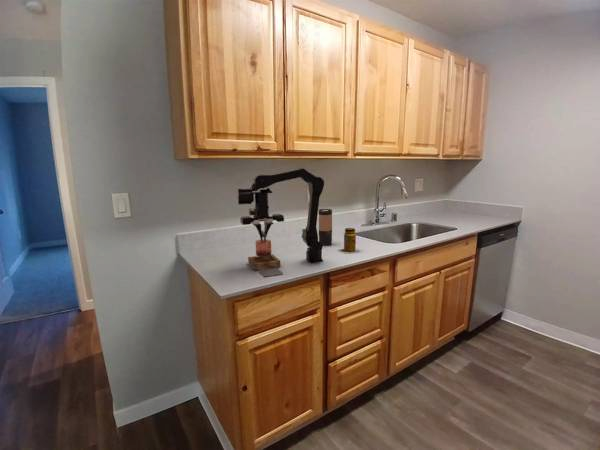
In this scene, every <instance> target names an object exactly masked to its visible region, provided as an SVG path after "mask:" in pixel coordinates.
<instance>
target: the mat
mask: <svg viewBox="0 0 600 450" xmlns="http://www.w3.org/2000/svg"><path fill="white" fill-rule="evenodd" d="M258 272H259V273H260V274H261V276H262V277H263V278H271V277H276V276H282V275H284V273H283V272H282V271H281V270H280V268H271V269H264V270H259V271H258Z"/></svg>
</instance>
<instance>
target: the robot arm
mask: <svg viewBox="0 0 600 450" xmlns="http://www.w3.org/2000/svg"><path fill="white" fill-rule="evenodd" d="M298 178H300V179H301V180H302V181H304V182H305V183H306V184H308V185H307V186H308V193H309V200H308V201H309V203H308V213H307V223H306V226H305V228H302V230H301V231H302V235H301V238H302V241H303V242H304V244H306V245H307V247H306V253H305V256H306V257H305V260H306V261H307V262H309V263H311V264H312V263H321V262H324V260H323V257H322V254H323V253H322V251H323V247H324V246H323V245H322V244H321V243H320V242H319V232H318V229H317V225H318V223H317V222H318V217H319V204H320V197H321V196H322V195H321V194H322V193H323V189H324V186H325V181H324V179H323V178H322V177H320V176H316V175H314V174H312V173H310V172H309V171H307V169H305V168H304V167H303V168H301V167H300V168H299V167H298V168H297V169H293V170H288V171H282V172H279V173H274V174H271V173H270V174H267V173H266V174H265V173H264V174H257V175H255V176H254V177H253V183H252V184H251V186H250V187H249V188H237V204H238V205H239V206H241V205H252V204H253V202H254V204H255V205H254V207H250V208H248V214H249V215H246V216H241V217H240V222H239V223H240V224H241V225H243V226H244V225H245V226H246V225H251V224H252V225H253V226H255V228H256V230H257V232H258V235H259V238H262V231H264V232H265V233H266V234H267V235H268V233H269V230H270V229H271V226H272V225H274V221H276V222H277V223H281V222H285V217H284V215H283V214H282V213H275V214H272V215H271V216H270V215H269V212H270V211H269V208H270V207H269V194H272V193H273V191H272V190H271V189H270V188H269V187H270V186H272V185H275V184H276V183H281V182H285V181H289V180H294V179H298ZM251 216H253V217H251ZM260 222H263V224H264V227H263V228H264V229H263V230H262V224H261V223H260Z"/></svg>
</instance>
